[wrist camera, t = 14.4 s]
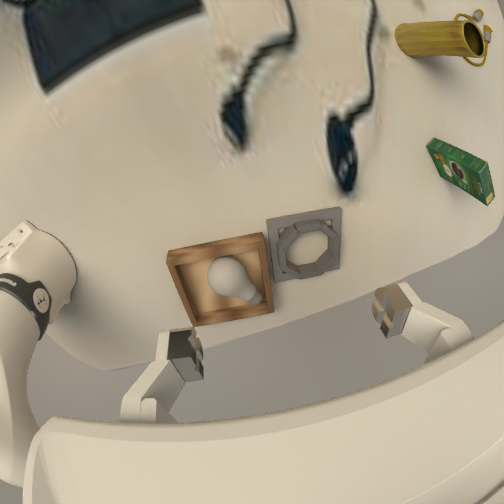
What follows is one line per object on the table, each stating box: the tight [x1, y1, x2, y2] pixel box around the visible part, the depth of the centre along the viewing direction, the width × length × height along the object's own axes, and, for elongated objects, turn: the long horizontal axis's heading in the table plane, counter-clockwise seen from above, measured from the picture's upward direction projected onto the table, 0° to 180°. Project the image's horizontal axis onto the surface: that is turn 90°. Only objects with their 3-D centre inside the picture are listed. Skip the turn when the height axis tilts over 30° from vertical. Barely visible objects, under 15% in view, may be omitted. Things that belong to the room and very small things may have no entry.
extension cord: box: [454, 9, 493, 66], centre depth 24 cm, size 12×16×2 cm
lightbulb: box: [207, 256, 262, 306], centre depth 44 cm, size 6×6×11 cm
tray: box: [166, 232, 274, 327], centre depth 46 cm, size 15×15×3 cm
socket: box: [266, 207, 341, 283], centre depth 44 cm, size 12×12×2 cm
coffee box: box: [427, 138, 495, 206], centre depth 33 cm, size 8×3×13 cm, turn 46°
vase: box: [395, 20, 486, 58], centre depth 21 cm, size 6×6×14 cm
